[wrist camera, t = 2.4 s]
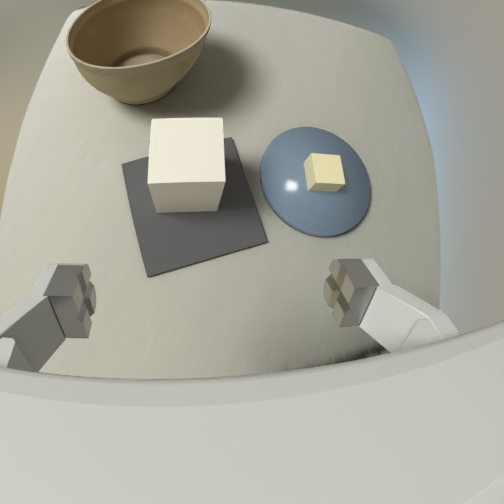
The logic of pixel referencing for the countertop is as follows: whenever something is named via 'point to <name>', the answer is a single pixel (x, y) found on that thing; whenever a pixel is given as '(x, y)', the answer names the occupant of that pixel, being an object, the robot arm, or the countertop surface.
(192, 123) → the white rectangular block
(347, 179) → the plate
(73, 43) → the planter bowl
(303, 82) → the countertop surface
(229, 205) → the mat
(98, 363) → the countertop surface
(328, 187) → the butter
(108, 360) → the countertop surface
